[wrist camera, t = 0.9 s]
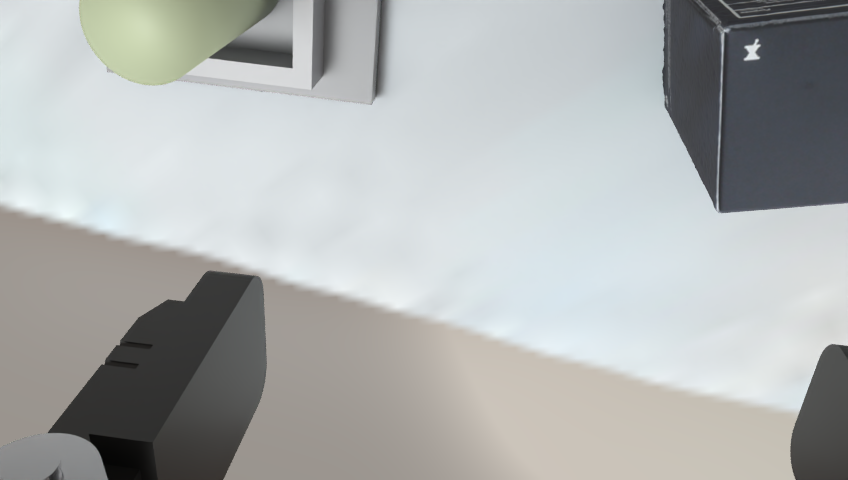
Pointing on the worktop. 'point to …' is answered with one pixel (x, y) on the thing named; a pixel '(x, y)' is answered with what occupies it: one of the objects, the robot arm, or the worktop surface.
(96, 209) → the worktop surface
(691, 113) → the small box
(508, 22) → the worktop surface
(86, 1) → the jaw peg olive
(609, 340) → the worktop surface
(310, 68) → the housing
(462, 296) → the worktop surface
